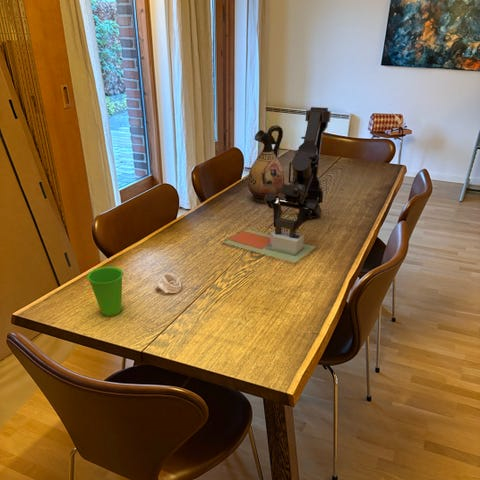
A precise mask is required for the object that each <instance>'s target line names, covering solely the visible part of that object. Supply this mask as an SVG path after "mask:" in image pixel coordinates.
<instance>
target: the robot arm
mask: <svg viewBox="0 0 480 480" xmlns="http://www.w3.org/2000/svg"><path fill="white" fill-rule="evenodd" d="M331 117H332V111H331V110H329V107H319V106H318V107H317V106H316V107H315V106H311V107H310V109H309V110H308V109H306V110H305V119H304V121H305V122H306V124H307V125H306V130H305V134H304V137H305V138H304V139H303V142H302V143H301V144H300V145H299V146H298V149H297V150H298V152H297V153H296V154H295V153H294V156H293V158H292V161H291V162H292V164H291V168H292V174H293V173H294V176H295V177H294V180H293V179H292V181H293V182H292V183H289V184H286V183H284V184H283V185H282V189H281V192H280V195H283V196H282V197H283V199H281V198H280V196H279V195H274V194H267V195H266V196H265V199H264V201H265V202H266V203H265V204H266V206H267V207H268V208H269V209H272V210H273V211H272V212H273V221H272V223H273V225H272V226H273V228H275V220H276V219H277V218H278V217H279V218H282V214H283V212H284V211H283V210H282V207H284V208H285V207H286V208H290V209H294V210H295V209H296V210H298V213H297V217H296V220H295V221H296V222H295V225H294V227H293V231H294V232H295V231H296V232H297V230H298V229H299V228H300V227H301V226H303V224H304V223H306V222H307V221H309V220H314V219H319V218H321V216H322V211H323V210H322V208H321V206H320V205H321V203H322V204H323V202H324V201H323V200H324V199H323V197H324V190H323V188H322V187H321V186H322V185H321V180H320V178H319V175H318V174H319V166H320V163H321V158H320V157H321V148H322V142H323V141H322V140H323V134H324V133H325V132H326V130H327V129H328V127H329V123H330V122H331Z"/></svg>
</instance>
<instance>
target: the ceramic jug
mask: <svg viewBox="0 0 480 480" xmlns="http://www.w3.org/2000/svg"><path fill="white" fill-rule="evenodd" d="M274 132H277V137H276V139H275V137H274V136H273V133H274ZM283 136H284V130H283V128H282V127H281V126H280V125H278V124H277V125H276V124H275V125H272V126H270V127H269V128H268V130H267V132H265V131H264V130H262V129H260V130H259V131H257V132H256V133H255V135H254V141H256V142H259V143H261V144H263V148H262V150H261V152H260V153H259V154H258V156H257V157H256V159H254V160H255V161H254V162H253V164H252V165H251V167H250V169H249V173H248V177H247V188H248V190H249V192H250V193H251V195H252V196H253V199H254V201H255V202H258V203H263V204H266V202H265V201H264V199H265V196H266V195H267V194H274V195H278V196H279V195H280V194H281V189H282V185H283V184H285V173H284V170H283V167H282V165H281V162H280V160H279V157H278V155H279V149H280V145H281V143H282V140H283ZM274 143H275V144H274ZM273 144H274V146H273Z"/></svg>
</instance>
